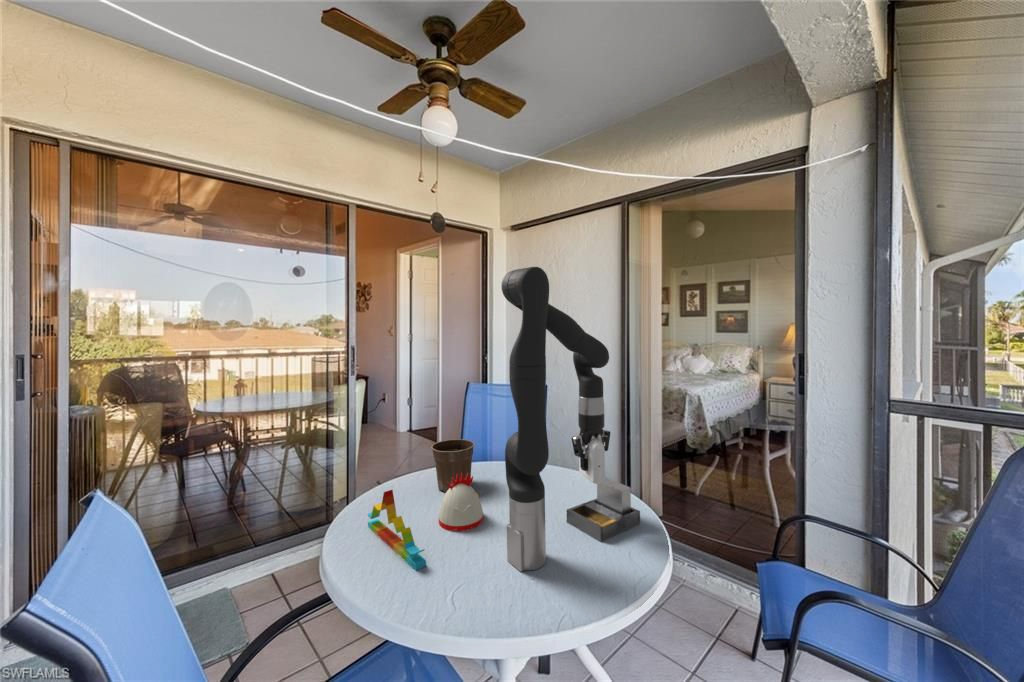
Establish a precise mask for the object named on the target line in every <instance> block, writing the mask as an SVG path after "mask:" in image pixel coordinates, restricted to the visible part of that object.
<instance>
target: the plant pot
mask: <svg viewBox="0 0 1024 682" xmlns="http://www.w3.org/2000/svg"><path fill="white" fill-rule="evenodd" d="M474 447H475V443H474V441H472V440H470V439H462V438H458V439H457V438H455V439H446V440H440V441H436V442H435V443H433V444H432V445H431V450H432V454H433V455H432V456H433V459H434V462H435V471H436V478H437V479H436V480H437V489H438V490H439V491H441V492H442V491H443V492H444V493H446V492H447V491H448V490H449V488H450V487H449V486H448V483H449V484H450V485H453V481H452V478H453V479H454V480H455V481H456V476H457V474H458V476H459V480H461V474H463V477H464V479H466V476H467V473H468V474H469V479H471V477H472V460H473V455H474ZM447 482H448V483H447Z"/></svg>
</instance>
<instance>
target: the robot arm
mask: <svg viewBox="0 0 1024 682" xmlns="http://www.w3.org/2000/svg"><path fill="white" fill-rule="evenodd" d="M501 292H502V295H503V296H504V298H505V300H506V301H508V302H509V303H510V304H511V305H513V306H514V307H516V309H519V310H521V311H522V316H521V318H522V319H521V326H520V330H519V333H518V334H517V338H516V340H515V342H514V343H513V347H512V350H511V352H510V353H509V354H510V355H509V360H508V361H509V365H508V366H509V367H508V368H509V370H508V371H509V372H508V373H509V374H508V375H509V377H508V379H509V387H510V392H511V396H512V400H513V404H514V408H515V411H516V417H517V431H516V432H514V433H513V434H511V435H510V436H509V438H508V439H507V442H506V444H505V449H504V461H505V466H504V467H505V479H506V485H507V488H508V495H509V497H508V499H509V500H508V501H509V503H508V505H509V524H507V525H506V553H507V554H506V556H507V557H506V559H507V560H506V561H507V562H508V563H510V564H511V566H513V567H514V568H516V569H517V570H518V571H519V572H523V571H534V570H538V569H540V568H542V567H543V566H544V565H545V564H546V561H547V552H546V551H547V546H546V543H547V541H546V488H545V484H544V482H543V479H542V477H541V474H540V473H541V472H543V470H544V469H545V467H546V466H547V463H548V461H549V455H550V449H549V441H548V440H549V439H548V430H547V421H546V420H547V419H546V411H547V409H546V404H547V403H546V401H547V395H546V392H547V390H546V387H547V383H546V382H547V362H546V361H547V359H546V357H547V355H546V349H547V348H546V347H547V346H546V345H547V343H546V342H547V331H548V332H549V333H550V334H551V336H552V335H553V337H554V338H556V339H557V340H558V342H559V343H561V344H562V346H563V347H564V348H565V349H567V350H568V351H570V352H573V355H572V362H573V365H574V366H573V367H574V370H575V372H576V377H577V381H578V403H577V405H578V406H577V408H578V411H577V412H578V416H577V417H578V419H577V421H578V427H579V434H578V435H576V436H572V437H571V442H572V448H573V454H574V456H575V457H578V458H579V457H580V467H581V469H582V470H584V471H588V451H589V445H590V442H591V441H592V440H594V438H597V439H598V440H599V441H600V442H601V443H602V445H603V446H604V449H605V452H608V450H609V445H610V439H611V431H610V430H607V429H604V428H605V399H604V380H603V377H601V376H599V375H597V374H596V373H595V372H594V369H601V368H604V367H605V366H607V365H608V363H609V361H610V353H609V350H608V348H607V347H606V345H605V344H603V343H602V342H601V341H600V340H598V339H597V338H596V337H594V336H592V335H591V334H589V333H587V332H586V331H585V330H584V329H583V328H582V326H581V325H579V323H578V322H577V321H576V320H575V319H574V318H572V317H571V316H570V315H569V314H567V313H565V312H563V310H561V309H558V308H557V307H555V306H553V305H552V304H550V303H549V299H550V281H549V278H548V275H547V273H546V271H544V269H542V268H541V267H539V266H530V267H529V266H528V267H524V268H516V269H514V270H513V269H512V270H511V271H509V272H507V273H506V274H504V276H503V278H502V281H501ZM584 445H588V446H587V447H584ZM584 450H585V453H584Z"/></svg>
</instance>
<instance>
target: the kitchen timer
mask: <svg viewBox="0 0 1024 682" xmlns="http://www.w3.org/2000/svg"><path fill="white" fill-rule="evenodd" d="M473 479H474V476H473V475H471V479H469V474H468V473H467V476H466V479H464V477H463V474H461V480H459V476H458V474H457V476H456V481H455V480H454V479H453V478H452V481H453V485H450V484H449V483H448V482H447V483H448V486H449V487H450V488H449V490H448V491H447V492H445V493H444V496H443V498H442V500H441V504H440V507H439V511H438V524H439V526H440V527H441V528H442V529H444V530H446V531H450V532H465V531H470V530H473V529H475V528H477V527H478V526H480V525H481V524H482V523H483V521H484V510H483V506H482V504H481V500H480V498H479V497H480V495H479V494H478V492H476V491H475V490H474V488H473V487H472V486H471V485H472V483H473V481H474V480H473Z"/></svg>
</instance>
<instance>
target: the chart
mask: <svg viewBox="0 0 1024 682" xmlns="http://www.w3.org/2000/svg"><path fill="white" fill-rule="evenodd" d="M393 491H394V489H390V490H386V491H384V492H383V496H382V501H381V502H380V503H377V504H374V505H372V506H373V508H372V511H371V512H369V513H367V516H368V518H369V520H368V521H367V527H368V528H369V529H370V530H371V531H372V532H373V533H374V534H375V535H376V536H377V537H379V538H380V540H382V541H383V542H384V543H385V544H386V545H387V546H388V547H390V548H391V550H393V551H394V552H395V553H396V554H397V555H398V556H399V557H400V558H401V559H402V560H404V561H405V562H406V563H407V564H408V565H409V566H410V567H411V568H412V569H413V570H414V571H418V570H420V569H422V568H424V567H427V560H426V558H425V557H424V556H422V555H421V553H422V552H424V551H425V549H420V548H418V547H417V545H416V543H415V539H414V537H413V533H412V530H411V527H410V526H408V527H406V526H405V522H404V520H403V517H402V515H398V516H397V510H396V503H395V498H394V492H393ZM384 510H386V516H387V522H388V525H390V524H393V525H394V529H395V532H396V533H395V532H394V531H393V530H391V529H390V528H389V527H388V526H387V525H385V524H384V522H382V521H381V519H379V517H380V515H381V511H384ZM400 533H401V537H402V538H401V537H400V536H398V534H400Z"/></svg>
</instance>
